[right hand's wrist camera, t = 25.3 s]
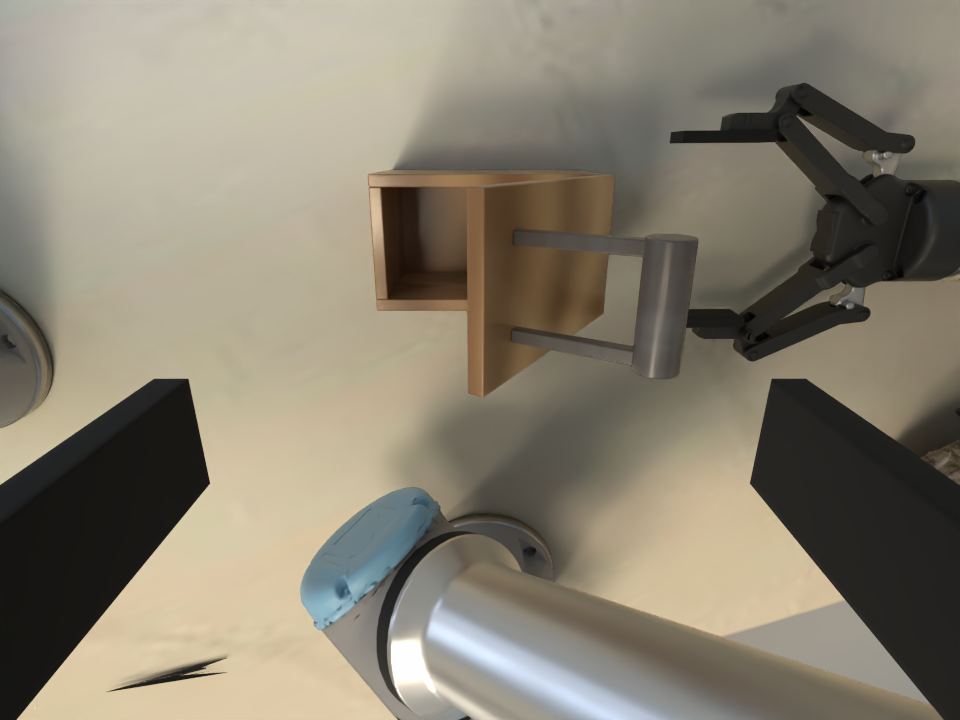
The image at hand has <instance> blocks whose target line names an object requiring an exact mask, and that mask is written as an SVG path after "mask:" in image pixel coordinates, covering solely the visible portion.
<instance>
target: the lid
mask: <svg viewBox="0 0 960 720" xmlns="http://www.w3.org/2000/svg"><path fill="white" fill-rule="evenodd" d="M614 184H615V175H604V174H603V175H592V176H580V177H569V178H558V179H547V180H535V181H524V182H513V183H501V184H490V185H479V186H468V187H467V303H468V393H469V394H472V395H476V396H480V397H485V396H486V395H487V394H489V393H490V392H492V391H493V390H495V389H496V388H497V387H499V386H500V385H502V384H503V383H505V382H506V381H507V380H509V379H510V378H512V377H513V376H515V375H516V374H518V373H519V372H520V371H522V370H523V369H525V368H526V367H528V366H529V365H530V364H532V363H533V362H535V361H536V360H538V359H539V358H540V357H542V356H543V355H545V354H546V353H548V352H549V351H550V350H554V351H560V352H565V353H570V354H575V355H580V356H586V357H591V358H596V359H601V360H606V361H612V362H617V363H622V364H627V365H631V368H632V370H633V371H634V372H635V373H636V374H638V375H641V376H644V377H648V378H653V379H670V378H674V377H676V376H678V375H679V373H680V367H681V360H682V353H683V346H684V339H685V332H686V325H687V318H688V311H689V304H690V297H691V290H692V283H693V276H694V269H695V262H696V255H697V248H698V238H696V237H693V236H687V235H678V234H653V235H648V236H646V238H639V237H626V236H613V235H610V231H611V219H612V207H613V196H614ZM608 254H616V255H626V256H637V257H643V263H642V272H641V281H640V290H639V300H638V309H637V318H636V327H635V337H634V346H627V345H622V344H616V343H610V342H605V341H599V340H593V339H587V338H582V337H576V336H572V335H573V334H575V333H576V332H578V331H579V330H581V329H582V328H583V327H585V326H586V325H588V324H589V323H591V322H592V321H594V320H595V319H596V318H598V317H599V316H601V315H602V314H603V313H604V301H605V289H606V278H607V266H608Z"/></svg>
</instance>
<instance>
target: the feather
mask: <svg viewBox="0 0 960 720" xmlns="http://www.w3.org/2000/svg"><path fill="white" fill-rule="evenodd" d="M224 659H226V658H224ZM220 660H223V659H220ZM220 660H217V661H220ZM217 661H213V662H209V663H206V664H202V665H199V666H195V667H192V668H188V669H185V670H181V671H178V672H174V673H171V674H167V675H164V676H160V677H157V678H153V679H150V680H146V681H143V682H139V683H136V684H132V685H129V686H125V687H122V688H118V689H115V690H111V691H116V690H122V689H128V688H134V687H140V686H147V685H153V684H159V683H165V682H171V681H177V680H184V679H190V678H196V677H202V676H208V675H214V674H221V673H208V674H198V673H196V674H195V675H193V674H191V675H185V674H188V673H190V672H194V671H198V670H202V669H206V668H201V667H204V666H207V665H209V664H212V663H215V662H217ZM219 672H220V671H219ZM202 673H203V672H202ZM224 673H227V672H224ZM108 692H110V691H108ZM34 708H36V706H35V707H34Z"/></svg>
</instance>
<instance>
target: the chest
mask: <svg viewBox="0 0 960 720" xmlns="http://www.w3.org/2000/svg"><path fill="white" fill-rule="evenodd" d="M592 175H603V174H601V173H595V172H589V171H583V170H388V171H383V172H377V173H372V174H368V184H369V199H370V214H371V228H372V243H373V257H374V272H375V286H376V299H377V300H376V301H377V310H378V311H468V303H467V187H468V186H479V185H490V184H501V183H513V182H524V181H535V180H547V179H558V178H569V177H580V176H592ZM604 175H606V174H604Z"/></svg>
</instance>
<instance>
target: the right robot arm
mask: <svg viewBox="0 0 960 720" xmlns="http://www.w3.org/2000/svg"><path fill="white" fill-rule="evenodd" d="M51 380H52V363H51V358H50V353H49V350H48V347H47V344H46V342H45V340H44V338H43V336H42V334H41V332H40V331H39V329H38V328H37V326H36V325H35V323H34V322H33V320H32V319H31V318H30V317H29V316H28V314H27V313H26V312H25V311H24V310H23V309H22V308H21V307H20V306H19V305H18V304H17V303H15V302H14V301H13V300H12V299H11V298H9V297H8V296H6V295H5V294H4V293H2V292H1V291H0V428H2V427H5V426H8V425H10V424H12V423H14V422H16V421H18V420H19V419H21V418H23V417H25V416H26V415H28V414H30V413H31V412H33V411H34V410H35V409H36V408H37V407H38V406H39V405H40V404H41V403H42V402H43V400H44V399H45V397H46V395H47V393H48V391H49V388H50V385H51ZM209 484H210V481H209V476H208V471H207V467H206V462H205V457H204V452H203V447H202V443H201V438H200V433H199V428H198V423H197V419H196V414H195V409H194V404H193V399H192V394H191V390H190V385H189V380H188V379H153V380H152V381H150V382H149V383H147V384H146V385H145V386H143V387H142V388H140V389H139V390H137V391H136V392H134V393H133V394H132V395H130V396H129V397H127V398H126V399H124V400H123V401H121V402H120V403H118V404H117V405H116V406H114V407H113V408H111V409H110V410H108V411H107V412H105V413H104V414H103V415H101V416H100V417H98V418H97V419H95V420H94V421H92V422H91V423H90V424H88V425H87V426H85V427H84V428H82V429H81V430H79V431H78V432H76V433H75V434H74V435H72V436H71V437H69V438H68V439H66V440H65V441H63V442H62V443H61V444H59V445H58V446H56V447H55V448H53V449H52V450H50V451H49V452H48V453H46V454H45V455H43V456H42V457H40V458H39V459H37V460H36V461H34V462H33V463H32V464H30V465H29V466H27V467H26V468H24V469H23V470H21V471H20V472H19V473H17V474H16V475H14V476H13V477H11V478H10V479H8V480H7V481H6V482H4V483H3V484H1V485H0V720H17V718H18V717H19V716H20V715H21V713H22V712H23V711H24V710H25V709H26V707H27V706H28V705H29V704H30V703H31V701H32V700H33V699H34V698H35V696H36V695H37V694H38V693H39V692H40V690H41V689H42V688H43V687H44V685H45V684H46V683H47V682H48V681H49V679H50V678H51V677H52V676H53V674H54V673H55V672H56V671H57V670H58V668H59V667H60V666H61V665H62V663H63V662H64V661H65V660H66V659H67V657H68V656H69V655H70V654H71V652H72V651H73V650H74V649H75V648H76V646H77V645H78V644H79V643H80V641H81V640H82V639H83V638H84V637H85V635H86V634H87V633H88V632H89V631H90V629H91V628H92V627H93V626H94V624H95V623H96V622H97V621H98V620H99V618H100V617H101V616H102V615H103V613H104V612H105V611H106V610H107V609H108V607H109V606H110V605H111V604H112V602H113V601H114V600H115V599H116V598H117V596H118V595H119V594H120V593H121V591H122V590H123V589H124V588H125V587H126V585H127V584H128V583H129V582H130V580H131V579H132V578H133V577H134V576H135V574H136V573H137V572H138V571H139V569H140V568H141V567H142V566H143V565H144V563H145V562H146V561H147V560H148V559H149V557H150V556H151V555H152V554H153V552H154V551H155V550H156V549H157V548H158V546H159V545H160V544H161V543H162V541H163V540H164V539H165V538H166V537H167V535H168V534H169V533H170V532H171V530H172V529H173V528H174V527H175V526H176V524H177V523H178V522H179V521H180V519H181V518H182V517H183V516H184V515H185V513H186V512H187V511H188V510H189V508H190V507H191V506H192V505H193V504H194V502H195V501H196V500H197V499H198V497H199V496H200V495H201V494H202V493H203V491H204V490H205V489H206V488H207V487H208V485H209ZM750 484H751V485H752V487H753V488H754V489H755V490H756V491H757V493H758V494H759V495H760V496H761V497H762V499H763V500H764V501H765V502H766V504H767V505H768V506H769V507H770V508H771V510H772V511H773V512H774V513H775V515H776V516H777V517H778V518H779V519H780V521H781V522H782V523H783V524H784V526H785V527H786V528H787V529H788V530H789V532H790V533H791V534H792V535H793V537H794V538H795V539H796V540H797V541H798V543H799V544H800V545H801V546H802V548H803V549H804V550H805V551H806V552H807V554H808V555H809V556H810V557H811V559H812V560H813V561H814V562H815V563H816V565H817V566H818V567H819V568H820V569H821V571H822V572H823V573H824V574H825V576H826V577H827V578H828V579H829V580H830V582H831V583H832V584H833V585H834V587H835V588H836V589H837V590H838V591H839V593H840V594H841V595H842V596H843V598H844V599H845V600H846V601H847V602H848V604H849V605H850V606H851V607H852V609H853V610H854V611H855V612H856V613H857V615H858V616H859V617H860V618H861V620H862V621H863V622H864V623H865V624H866V626H867V627H868V628H869V629H870V630H871V632H872V633H873V634H874V635H875V637H876V638H877V639H878V640H879V641H880V643H881V644H882V645H883V646H884V648H885V649H886V650H887V651H888V652H889V654H890V655H891V656H892V657H893V659H894V660H895V661H896V662H897V663H898V665H899V666H900V667H901V668H902V670H903V671H904V672H905V673H906V674H907V676H908V677H909V678H910V679H911V681H912V682H913V683H914V684H915V685H916V687H917V688H918V689H919V690H920V692H921V693H922V694H923V695H924V696H925V698H926V699H927V700H928V701H929V703H930V704H931V705H932V706H933V707H934V709H935V710H936V711H937V712H938V714H939V715H940V716H941V717H942V718H943V720H960V485H959V484H957V483H956V482H954V481H953V480H952V479H950V478H949V477H947V476H946V475H944V474H943V473H941V472H940V471H939V470H937V469H936V468H934V467H933V466H931V465H930V464H928V463H927V462H926V461H924V460H923V459H921V458H920V457H918V456H917V455H915V454H914V453H912V452H911V451H910V450H908V449H907V448H905V447H904V446H902V445H901V444H899V443H898V442H897V441H895V440H894V439H892V438H891V437H889V436H888V435H886V434H885V433H884V432H882V431H881V430H879V429H878V428H876V427H875V426H873V425H872V424H870V423H869V422H868V421H866V420H865V419H863V418H862V417H860V416H859V415H857V414H856V413H855V412H853V411H852V410H850V409H849V408H847V407H846V406H844V405H843V404H842V403H840V402H839V401H837V400H836V399H834V398H833V397H831V396H830V395H828V394H827V393H826V392H824V391H823V390H821V389H820V388H818V387H817V386H815V385H814V384H813V383H811V382H810V381H808V380H807V379H772V380H771V385H770V390H769V394H768V399H767V404H766V409H765V414H764V419H763V423H762V428H761V433H760V438H759V443H758V447H757V452H756V457H755V462H754V467H753V471H752V476H751V481H750Z"/></svg>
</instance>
